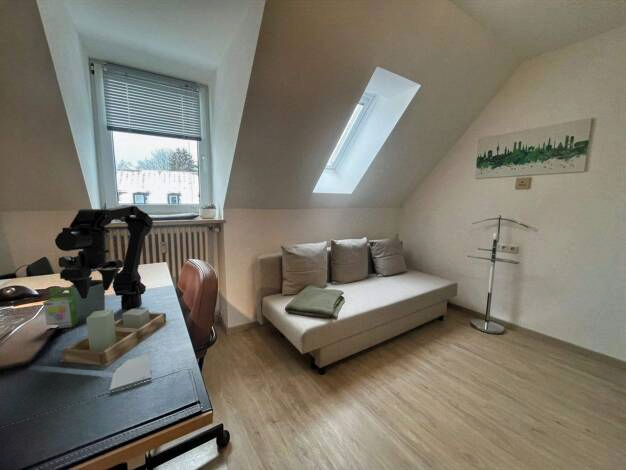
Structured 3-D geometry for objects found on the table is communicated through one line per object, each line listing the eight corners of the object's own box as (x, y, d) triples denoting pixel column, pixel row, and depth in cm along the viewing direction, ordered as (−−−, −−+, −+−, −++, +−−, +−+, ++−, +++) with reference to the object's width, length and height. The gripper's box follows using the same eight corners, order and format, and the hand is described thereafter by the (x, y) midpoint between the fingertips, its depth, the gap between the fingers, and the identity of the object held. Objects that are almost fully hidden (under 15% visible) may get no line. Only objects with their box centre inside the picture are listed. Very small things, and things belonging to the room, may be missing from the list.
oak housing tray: (132, 321, 91) (131, 311, 90) (168, 324, 89) (168, 313, 89) (60, 364, 67) (58, 350, 66) (107, 368, 66) (106, 354, 65)
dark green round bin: (78, 310, 99) (75, 281, 97) (111, 306, 103) (108, 278, 102) (68, 321, 90) (64, 289, 88) (104, 316, 94) (101, 285, 93)
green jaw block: (98, 346, 73) (94, 311, 72) (116, 344, 75) (113, 309, 73) (90, 355, 69) (86, 318, 68) (110, 352, 71) (106, 316, 69)
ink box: (46, 330, 84) (41, 292, 82) (54, 324, 88) (50, 287, 86) (71, 327, 86) (66, 290, 84) (78, 322, 90) (74, 286, 88)
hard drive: (151, 377, 61) (151, 351, 72) (108, 390, 57) (115, 360, 67) (152, 383, 62) (151, 356, 72) (109, 396, 57) (115, 366, 68)
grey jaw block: (133, 325, 86) (132, 308, 85) (150, 326, 86) (148, 309, 85) (124, 331, 82) (122, 313, 81) (140, 332, 82) (139, 315, 81)
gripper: (90, 244, 90) (92, 286, 91) (38, 250, 72) (40, 303, 73) (123, 244, 91) (124, 286, 92) (80, 251, 73) (81, 303, 74)
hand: (95, 294), depth 83 cm, fingers open, 9 cm apart
